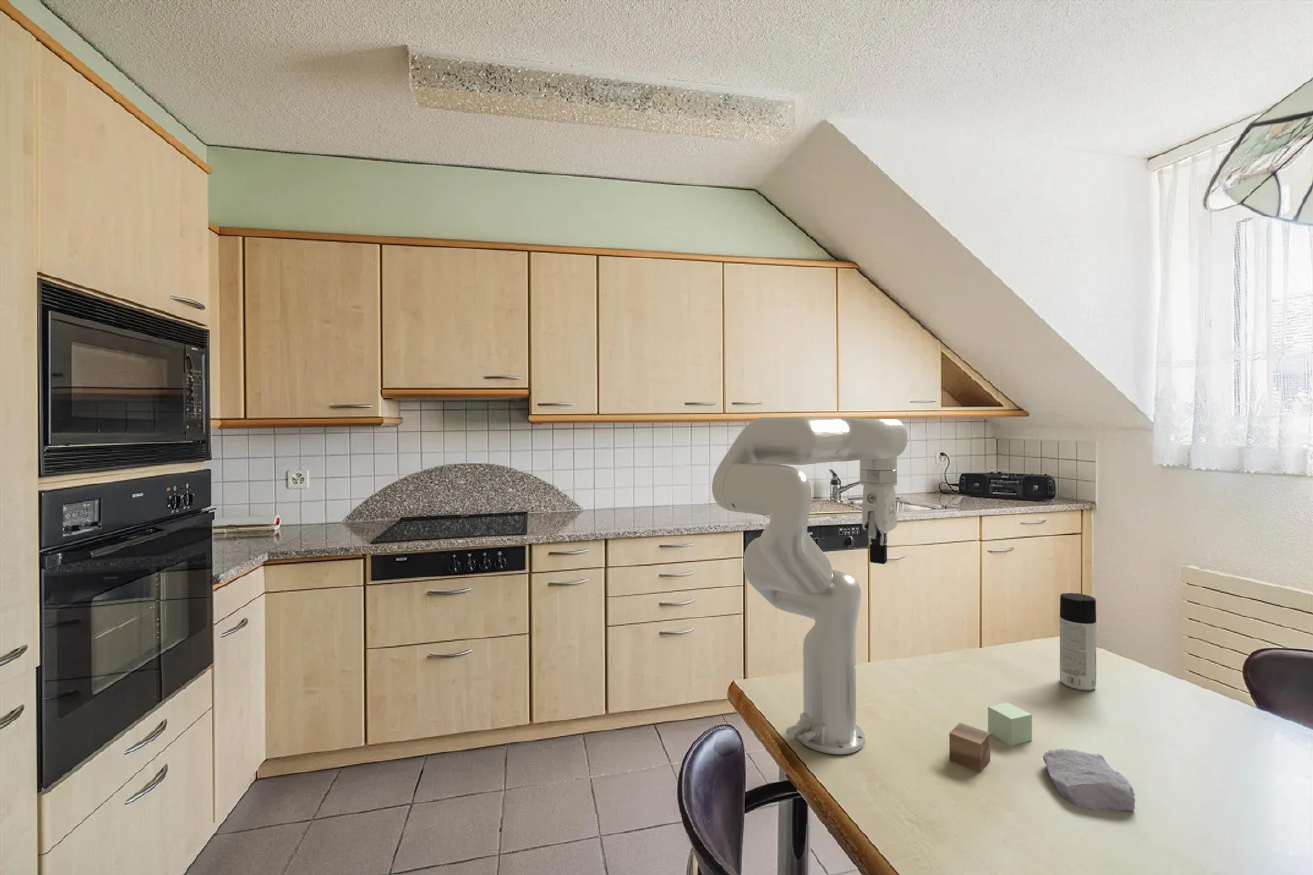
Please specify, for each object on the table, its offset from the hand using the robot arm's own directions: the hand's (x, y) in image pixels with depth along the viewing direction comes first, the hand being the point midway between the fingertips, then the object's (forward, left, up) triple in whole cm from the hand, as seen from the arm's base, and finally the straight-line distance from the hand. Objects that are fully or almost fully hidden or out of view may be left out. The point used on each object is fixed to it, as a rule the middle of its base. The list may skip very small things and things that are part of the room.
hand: (878, 562), depth 125 cm
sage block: (+6, -24, -29) cm, 38 cm away
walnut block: (-8, -24, -29) cm, 39 cm away
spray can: (+41, -22, -29) cm, 55 cm away
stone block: (0, -38, -30) cm, 48 cm away
